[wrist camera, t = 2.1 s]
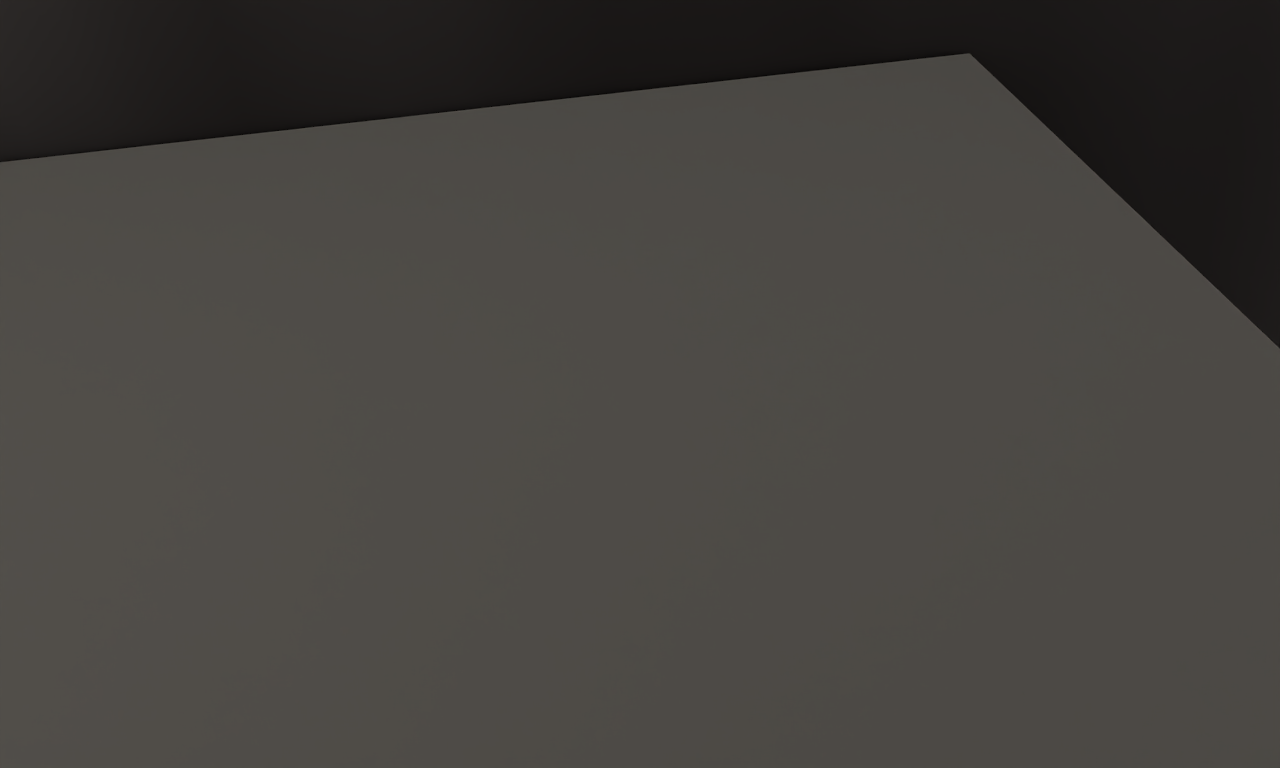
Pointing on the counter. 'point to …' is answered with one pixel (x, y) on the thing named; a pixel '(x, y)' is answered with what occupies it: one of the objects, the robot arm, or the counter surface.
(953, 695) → the matte gray cube
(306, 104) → the counter surface
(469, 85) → the counter surface
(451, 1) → the counter surface
